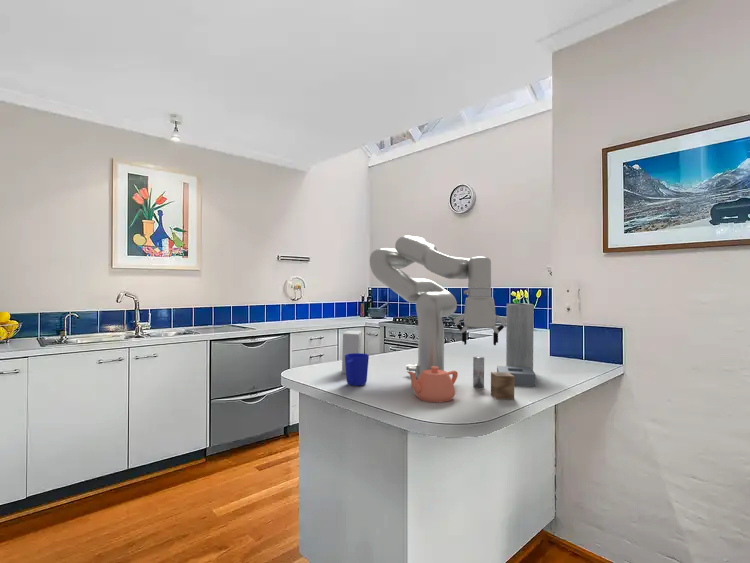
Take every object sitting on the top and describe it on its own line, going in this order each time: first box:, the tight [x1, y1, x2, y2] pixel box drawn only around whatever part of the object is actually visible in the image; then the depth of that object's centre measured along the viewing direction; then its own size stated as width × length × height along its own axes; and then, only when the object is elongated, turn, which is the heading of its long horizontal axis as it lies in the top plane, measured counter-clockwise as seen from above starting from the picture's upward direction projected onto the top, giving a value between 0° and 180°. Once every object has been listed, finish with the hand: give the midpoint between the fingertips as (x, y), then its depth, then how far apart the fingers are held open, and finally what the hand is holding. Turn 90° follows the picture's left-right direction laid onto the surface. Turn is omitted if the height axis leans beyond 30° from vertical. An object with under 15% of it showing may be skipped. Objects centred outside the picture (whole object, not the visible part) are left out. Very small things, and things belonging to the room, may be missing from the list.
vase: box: [505, 302, 535, 371], centre depth 162 cm, size 10×10×27 cm
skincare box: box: [341, 330, 363, 374], centre depth 162 cm, size 8×7×16 cm
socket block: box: [496, 365, 537, 387], centre depth 148 cm, size 12×12×4 cm
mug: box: [345, 352, 370, 387], centre depth 140 cm, size 8×12×10 cm
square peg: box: [490, 371, 515, 400], centre depth 128 cm, size 6×6×7 cm
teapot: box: [406, 366, 459, 403], centre depth 126 cm, size 12×18×10 cm
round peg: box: [472, 355, 485, 389], centre depth 140 cm, size 4×4×10 cm
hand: (479, 344), depth 139 cm, fingers open, 9 cm apart
